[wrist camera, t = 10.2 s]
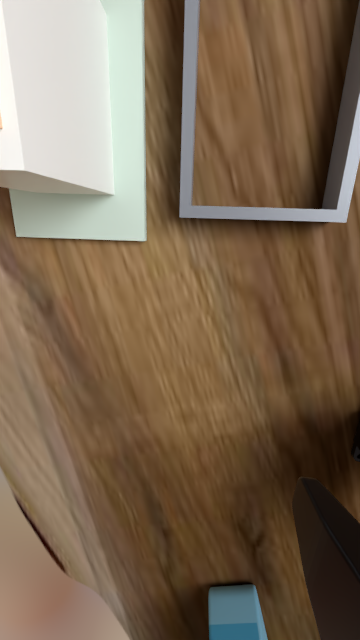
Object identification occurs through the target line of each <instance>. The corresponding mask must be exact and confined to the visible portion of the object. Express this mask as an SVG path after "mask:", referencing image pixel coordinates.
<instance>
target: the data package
mask: <svg viewBox="0 0 360 640" xmlns="http://www.w3.org/2000/svg"><path fill="white" fill-rule="evenodd" d="M208 605H209V640H268V639H267V635H266V630H265V626H264V622H263V617H262V613H261V608H260V604H259V599H258V595H257V590H256V587H255V585H253V584H251V585H235V586H220V587H211V588H210V589H209V596H208Z"/></svg>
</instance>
